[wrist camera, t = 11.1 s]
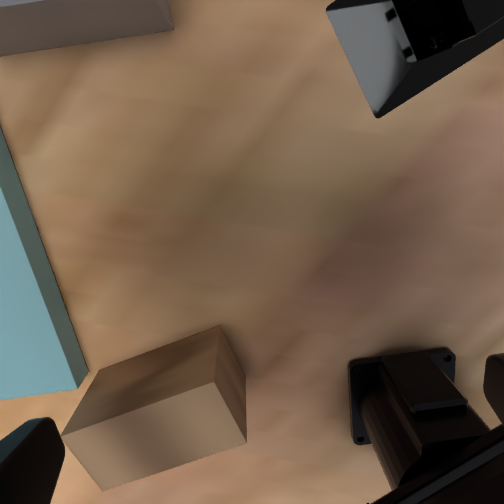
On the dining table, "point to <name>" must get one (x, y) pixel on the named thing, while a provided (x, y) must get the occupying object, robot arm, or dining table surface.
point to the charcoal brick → (76, 22)
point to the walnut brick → (160, 410)
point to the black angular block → (411, 42)
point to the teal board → (30, 303)
